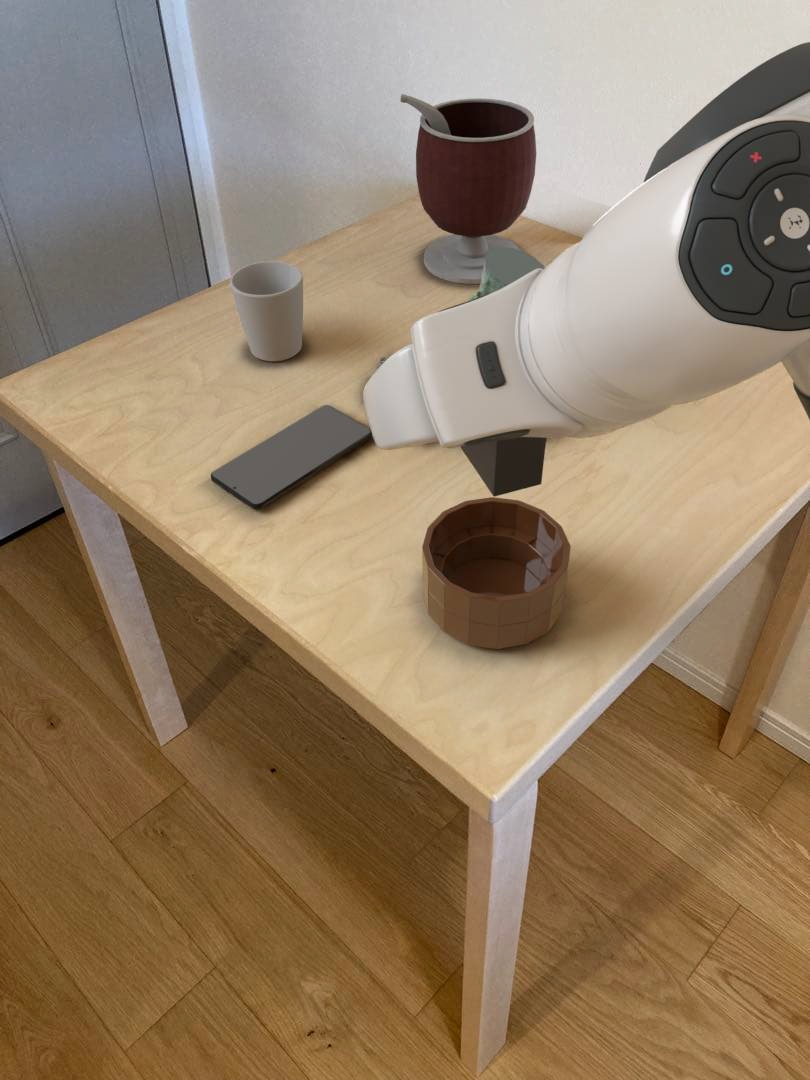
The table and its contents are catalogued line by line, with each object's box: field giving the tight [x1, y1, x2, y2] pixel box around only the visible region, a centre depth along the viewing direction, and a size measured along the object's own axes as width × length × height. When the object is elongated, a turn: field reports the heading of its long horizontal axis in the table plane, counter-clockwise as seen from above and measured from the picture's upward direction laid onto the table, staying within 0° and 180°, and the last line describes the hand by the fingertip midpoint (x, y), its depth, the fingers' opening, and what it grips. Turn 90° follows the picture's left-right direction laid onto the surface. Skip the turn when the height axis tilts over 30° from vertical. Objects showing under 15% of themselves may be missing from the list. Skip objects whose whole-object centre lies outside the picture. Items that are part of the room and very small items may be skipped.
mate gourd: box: [399, 93, 537, 285], centre depth 105 cm, size 16×14×20 cm
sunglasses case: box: [459, 437, 547, 498], centre depth 58 cm, size 4×6×9 cm, turn 20°
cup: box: [229, 260, 304, 362], centre depth 97 cm, size 8×10×8 cm
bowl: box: [421, 496, 572, 650], centre depth 70 cm, size 11×11×6 cm
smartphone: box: [210, 404, 373, 511], centre depth 85 cm, size 7×1×15 cm
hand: (498, 401), depth 58 cm, fingers closed on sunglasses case, 3 cm apart
